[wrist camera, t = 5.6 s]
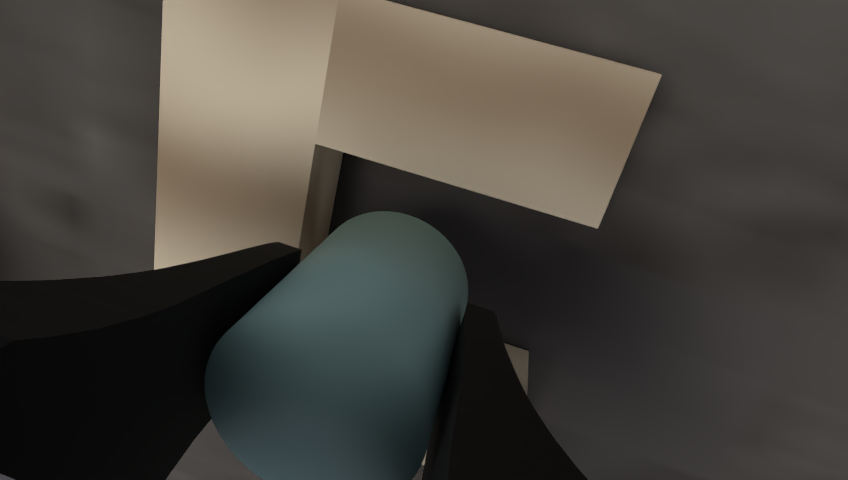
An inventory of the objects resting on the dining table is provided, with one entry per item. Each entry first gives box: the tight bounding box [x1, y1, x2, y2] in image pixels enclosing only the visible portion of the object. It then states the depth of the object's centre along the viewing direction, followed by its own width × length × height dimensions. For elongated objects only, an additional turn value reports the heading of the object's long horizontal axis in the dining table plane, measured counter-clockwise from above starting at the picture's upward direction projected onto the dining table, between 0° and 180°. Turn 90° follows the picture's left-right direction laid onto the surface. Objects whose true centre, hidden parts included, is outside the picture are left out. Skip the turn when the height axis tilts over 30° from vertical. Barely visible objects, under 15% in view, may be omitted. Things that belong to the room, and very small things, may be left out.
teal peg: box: [205, 211, 469, 480], centre depth 11 cm, size 4×4×5 cm
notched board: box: [154, 0, 662, 465], centre depth 16 cm, size 13×12×2 cm
